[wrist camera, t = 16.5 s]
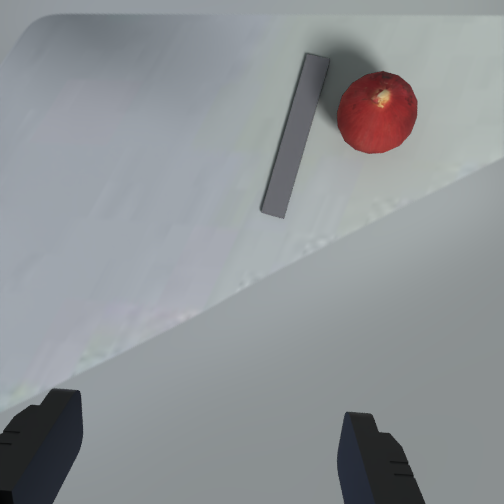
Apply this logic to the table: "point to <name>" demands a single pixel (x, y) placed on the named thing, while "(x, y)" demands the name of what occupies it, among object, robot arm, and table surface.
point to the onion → (377, 112)
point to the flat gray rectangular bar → (295, 135)
